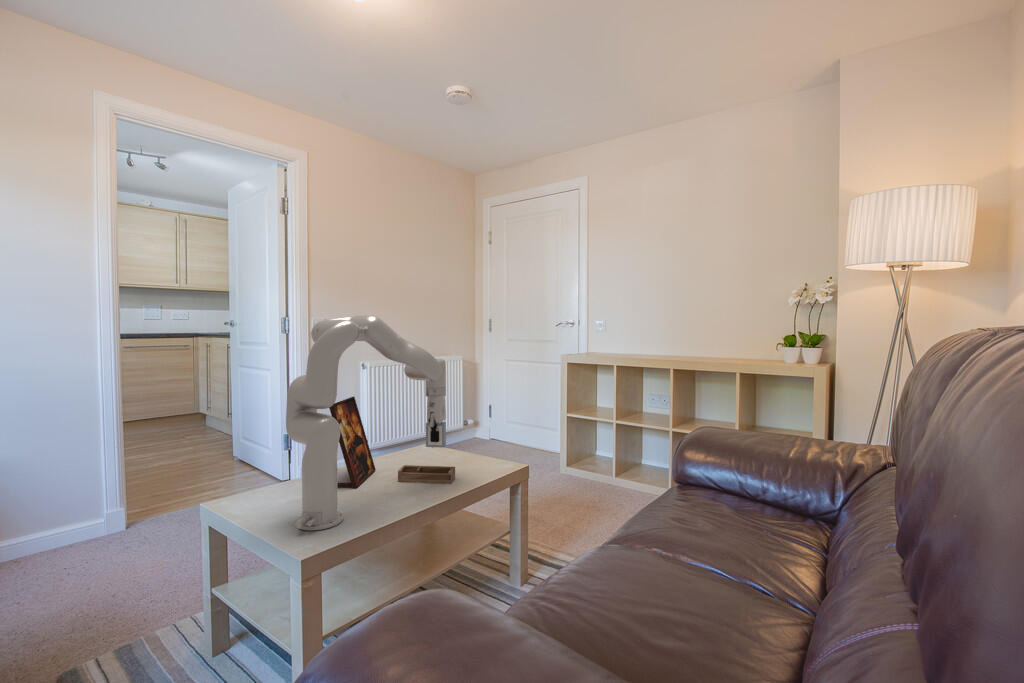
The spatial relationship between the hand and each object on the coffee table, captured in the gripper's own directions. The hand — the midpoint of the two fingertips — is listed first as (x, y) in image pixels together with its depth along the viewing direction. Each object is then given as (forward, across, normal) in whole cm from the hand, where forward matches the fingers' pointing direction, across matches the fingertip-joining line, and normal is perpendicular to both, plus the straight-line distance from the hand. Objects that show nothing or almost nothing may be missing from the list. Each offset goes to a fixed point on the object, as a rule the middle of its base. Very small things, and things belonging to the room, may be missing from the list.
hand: (435, 440), depth 172 cm
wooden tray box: (+15, 0, +4) cm, 15 cm away
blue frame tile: (+2, 0, 0) cm, 2 cm away
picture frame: (+15, -2, +32) cm, 35 cm away
